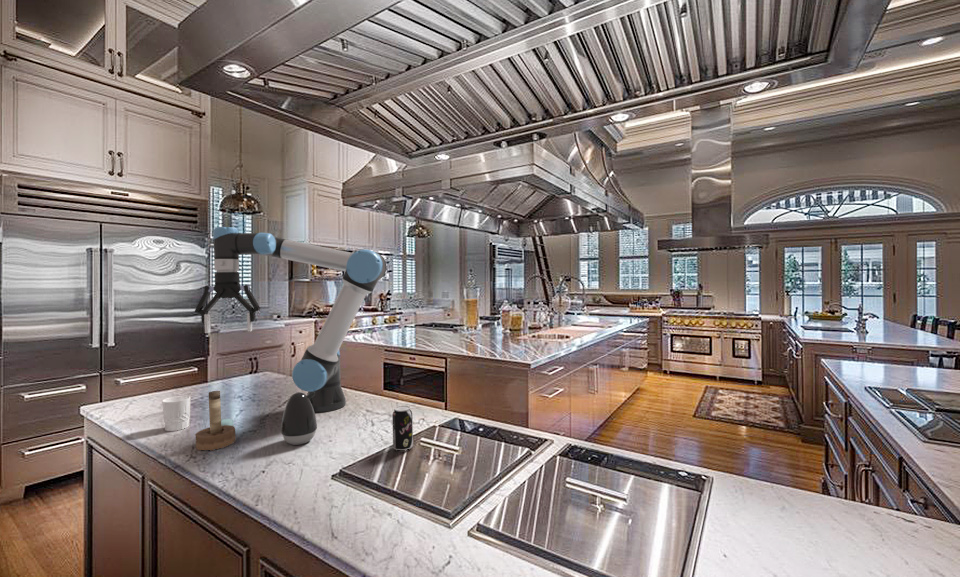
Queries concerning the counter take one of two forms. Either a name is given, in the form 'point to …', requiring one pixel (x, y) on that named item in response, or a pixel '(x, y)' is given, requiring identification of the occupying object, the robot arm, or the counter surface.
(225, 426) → the wooden peg base
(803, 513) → the counter surface
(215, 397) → the tan wooden rod
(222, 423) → the small bead
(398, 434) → the beverage can
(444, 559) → the counter surface
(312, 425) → the black egg shaped speaker
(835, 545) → the counter surface
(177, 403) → the white cup
